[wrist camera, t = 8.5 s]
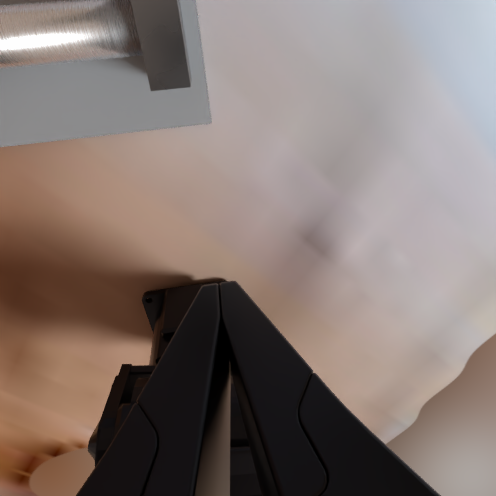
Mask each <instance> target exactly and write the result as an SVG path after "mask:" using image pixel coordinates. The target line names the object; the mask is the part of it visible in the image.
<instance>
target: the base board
mask: <svg viewBox="0 0 496 496" xmlns="http://www.w3.org/2000/svg"><path fill="white" fill-rule="evenodd" d="M49 1H61V0H0V6H1V5H13V4H25V3H37V2H49ZM180 5H181V11H182V18H183V24H184V31H185V37H186V44H187V50H188V57H189V63H190V69H191V76H192V79H191V87H187V88H178V89H168V90H158V91H151V90H150V85H149V81H148V76H147V72H146V67H145V63H144V58H143V55H141V56H131V57H120V58H110V59H100V60H89V61H79V62H68V63H58V64H48V65H37V66H27V67H17V68H6V69H0V147H6V146H15V145H24V144H32V143H41V142H50V141H59V140H68V139H77V138H86V137H95V136H104V135H112V134H121V133H130V132H139V131H148V130H157V129H166V128H175V127H183V126H192V125H201V124H210V123H212V120H211V113H210V105H209V98H208V90H207V83H206V75H205V68H204V60H203V53H202V45H201V38H200V30H199V23H198V15H197V8H196V0H180Z"/></svg>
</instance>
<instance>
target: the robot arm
mask: <svg viewBox="0 0 496 496" xmlns="http://www.w3.org/2000/svg"><path fill="white" fill-rule="evenodd" d="M147 298H151V299H147ZM142 302H143V305H144V308H145V311H146V314H147V317H148V319H149V322H150V325H151V328H152V331H153V341H152V349H151V356H150V363H149V365H144V366H132V364H122V366H121V369H120V372H119V375H118V376H116V377H115V380H114V383H113V384H112V388H111V391H110V394H109V397H108V400H107V403H106V405H105V408H104V411H103V414H102V417H101V419H100V421H99V423H98V425H97V427H96V429H95V430H94V432H93V434H92V436H91V437H90V440H89V444H88V452H89V453H90V454H91V456H92V457H93V458H94V460H95V469H94V470H93V472H92V473H91V475H90V476H89V477H88V479H87V481H86V482H85V483H84V485H83V486H82V488H81V489H80V491H79V492H78V493H77V495H76V496H441V495H439V494H438V493H437V492H436V491H435V490H434V489H433V488H432V487H431V486H430V485H429V484H427V483H426V482H425V481H424V480H423V479H422V478H421V477H420V476H419V475H418V474H417V473H416V472H414V471H413V470H412V469H411V468H410V467H409V466H408V465H407V464H406V463H405V462H404V461H403V460H401V459H400V458H399V457H398V456H397V455H396V454H395V453H394V452H393V451H392V450H391V449H390V448H389V447H387V446H386V445H385V444H384V443H383V442H382V441H381V440H380V439H379V438H378V437H377V436H376V435H375V434H373V433H372V432H371V431H370V430H369V429H368V428H367V427H366V426H365V425H364V424H363V423H362V422H361V421H360V420H359V419H358V418H357V417H356V416H355V415H354V414H353V413H352V412H351V411H350V410H349V409H348V408H346V406H345V405H344V404H343V403H342V402H341V401H340V400H339V399H338V398H337V397H336V396H335V394H334V393H333V392H332V391H331V390H330V389H329V388H328V387H327V386H326V385H325V383H324V382H323V381H322V380H321V379H320V378H319V376H318V375H317V374H316V373H313V370H312V369H311V367H310V366H309V365H308V364H307V363H306V362H305V360H304V359H303V358H302V357H301V356H300V355H299V354H298V352H297V351H296V350H295V349H294V348H293V347H292V345H291V344H290V343H289V342H288V341H287V340H286V338H285V337H284V336H283V335H282V334H281V333H280V332H279V330H278V329H277V328H276V327H275V326H274V325H273V323H272V322H271V321H270V320H269V319H268V318H267V316H266V315H265V314H264V313H263V312H262V311H261V310H260V308H259V307H258V306H257V305H256V304H255V303H254V301H253V300H252V299H251V298H250V297H249V296H248V294H247V293H246V292H245V291H244V290H243V289H242V288H241V286H240V285H239V284H238V283H237V282H236V281H229V282H227V281H218V282H211V283H204V284H197V285H190V286H184V287H177V288H170V289H163V290H156V291H150V292H146V293H144V294H143V297H142Z"/></svg>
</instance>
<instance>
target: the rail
mask: <svg viewBox="0 0 496 496" xmlns="http://www.w3.org/2000/svg"><path fill="white" fill-rule="evenodd" d="M141 55H143V58H144V63H145V67H146V72H147V76H148V81H149V85H150V90H151V91H158V90H168V89H178V88H187V87H191V79H192V76H191V69H190V63H189V57H188V50H187V44H186V37H185V31H184V24H183V18H182V11H181V5H180V0H61V1H49V2H37V3H25V4H13V5H1V6H0V69H6V68H17V67H27V66H37V65H48V64H58V63H68V62H79V61H89V60H100V59H110V58H120V57H131V56H141Z"/></svg>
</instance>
